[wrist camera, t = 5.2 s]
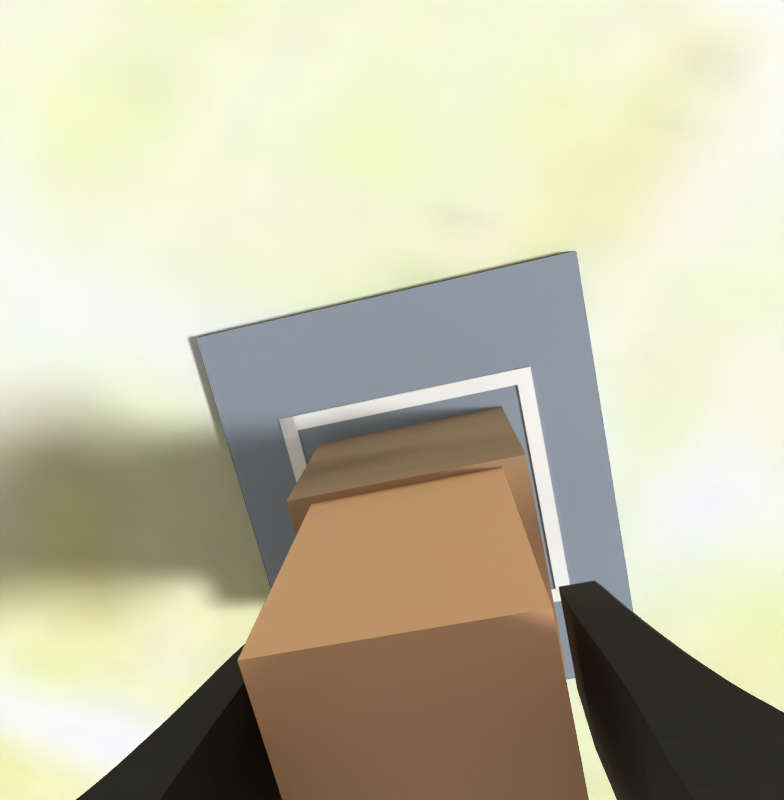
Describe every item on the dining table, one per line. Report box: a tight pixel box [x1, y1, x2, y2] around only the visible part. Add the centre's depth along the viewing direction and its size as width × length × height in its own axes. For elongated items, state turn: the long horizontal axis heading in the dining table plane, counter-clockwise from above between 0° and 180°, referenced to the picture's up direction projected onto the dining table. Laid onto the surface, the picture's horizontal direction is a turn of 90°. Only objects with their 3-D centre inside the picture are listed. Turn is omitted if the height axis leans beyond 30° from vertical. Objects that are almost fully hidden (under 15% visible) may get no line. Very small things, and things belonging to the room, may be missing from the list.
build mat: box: [196, 251, 633, 679], centre depth 17 cm, size 12×10×1 cm
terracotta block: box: [237, 467, 589, 800], centre depth 10 cm, size 4×4×5 cm
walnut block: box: [286, 406, 566, 670], centre depth 15 cm, size 5×5×4 cm
